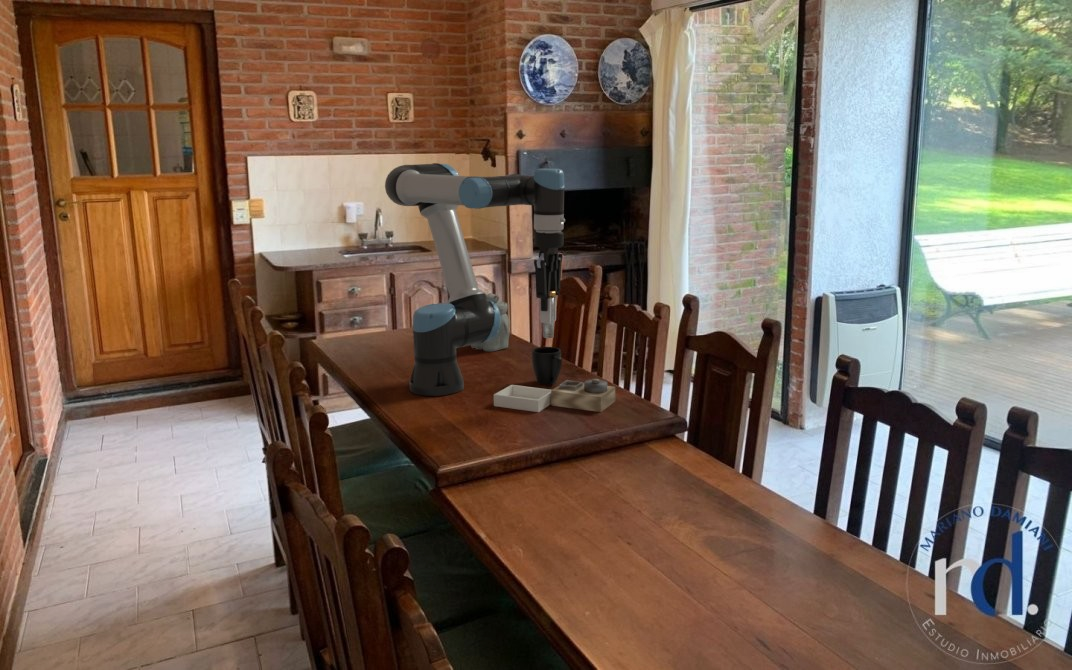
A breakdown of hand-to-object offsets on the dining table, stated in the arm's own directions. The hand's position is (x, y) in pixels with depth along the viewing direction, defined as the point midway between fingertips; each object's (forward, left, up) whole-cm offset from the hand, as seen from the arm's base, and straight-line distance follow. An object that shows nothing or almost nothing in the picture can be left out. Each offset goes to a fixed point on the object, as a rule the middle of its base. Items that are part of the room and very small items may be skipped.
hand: (548, 321), depth 223 cm
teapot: (-46, +47, -22) cm, 70 cm away
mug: (-7, +16, -22) cm, 28 cm away
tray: (-5, -4, -22) cm, 23 cm away
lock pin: (0, 0, -4) cm, 4 cm away
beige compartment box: (+9, +3, -22) cm, 24 cm away
